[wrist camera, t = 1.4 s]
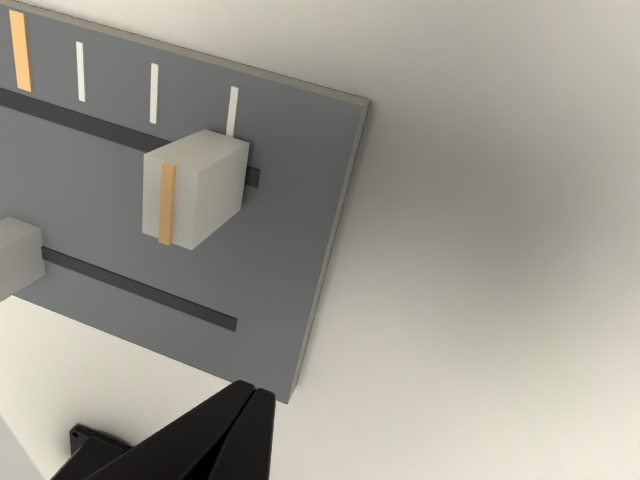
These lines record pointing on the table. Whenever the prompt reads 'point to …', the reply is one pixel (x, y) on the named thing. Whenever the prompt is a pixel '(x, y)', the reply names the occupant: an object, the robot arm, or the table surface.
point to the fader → (192, 187)
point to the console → (127, 193)
